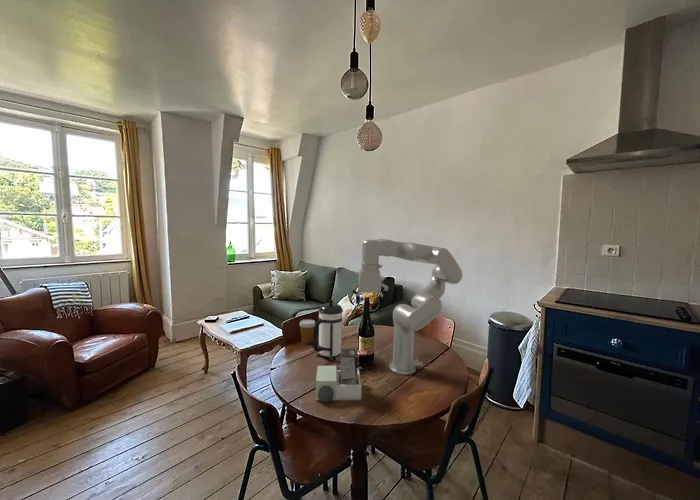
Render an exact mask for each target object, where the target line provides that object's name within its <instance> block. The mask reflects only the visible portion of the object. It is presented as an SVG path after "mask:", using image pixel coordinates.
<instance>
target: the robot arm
mask: <svg viewBox="0 0 700 500" xmlns="http://www.w3.org/2000/svg"><path fill="white" fill-rule="evenodd" d="M361 246H362V248H361V249H362V250H361V253H362V254H361V269H359V272H358V273H359V274H358V281H357V282H356V283H354V284H352V285H350V287H349V288H350V289H351V291H352V293H353V294H354V296H356V297H355V304H357V306H360V303H361V301H360V299H361V297H360V295H361V294H362V293H367V294H369V293H370V294H371V293H373V294H374V293H377V294H378V302H377V303H378V305H379V306H381V305H382V304H383V297H384V296H385V294H387V292H388V290H389V288H390V287H389V286H388V285H386V284H385V283H382V277H381V270H380V269H382V267H383V265H382V264H380V263H379V262H380V256H383V257H393V258H399V259H401V260H406V261H410V262H411V261H412V262H417V263H423V264H431V265H434V267H433V269H432V270H431V280H430V282H429V283H428V285H426V286H425V287H424V288H422V290H420V291H418V293H416V294H415V295H414V296H413V297H412V298H411V301H410V303H411V305H409V304H406V303H399V304H398V305H395V307H394V309H393V311H392V322H393V349H392V350H393V351H392V361H391V362H390V363H389V369H390V370H391V372H393V373H395V374H398V375H405V376H407V375H412V374H414V373H415V372H416V370H417V368H416V367H423V365H424V363H423V362H422V361H419V359H418V360H414V342H415V341H414V340H415V332H416V331H420V330H421V329H423V328H424V327H425V326H427V324H429V323H430V322H431V321H433V320H434V319H435V318H437V316H439V314H441V310H442V309H443V308H442V307H443V303H442V301H441V298H442V297H443V295H444V294H445V291H446V284H447V283H448V284H450V285H457V284H459V283H460V282H461V281H462V279H463V271H462V268H461V267H460V266H459V264H458V261H456V259H455V258H454V256H453V254H452V253H451V251H449V250H448V249H447V248H445V247H440V246H432V245H428V244H427V245H425V244H420V243H415V242H404V241H403V242H402V241H395V240H391V239H384V238H378V239H364V240H363V241H362V245H361ZM356 287H357V289H358V290H355V288H356ZM382 288H384V289H383V290H382Z"/></svg>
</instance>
